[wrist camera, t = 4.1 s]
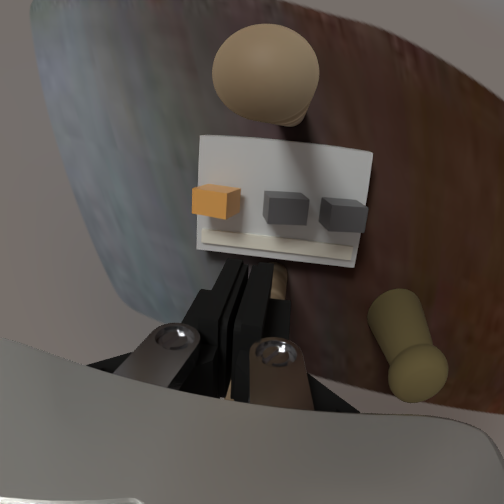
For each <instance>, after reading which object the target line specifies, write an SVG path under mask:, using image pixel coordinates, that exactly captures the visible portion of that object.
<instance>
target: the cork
mask: <svg viewBox="0 0 504 504" xmlns="http://www.w3.org/2000/svg"><path fill="white" fill-rule="evenodd" d="M367 319H368V325H369V327H370V329H371V330H372V332H373V334H374V336H375V338H376V340H377V342H378V344H379V346H380V348H381V350H382V351H383V353H384V355H385V357H386V359H387V361H388V363H389V365H390V367H389V370H388V383H389V387H390V389H391V391H392V392H393V394H394V396H396V397H397V398H398V399H400V400H402V401H404V402H407V403H417V402H421V401H425V400H427V399H429V398H431V397H432V396H434V395H435V394H436V393H438V392H439V391H440V390H441V388H442V387H443V386H444V384H445V382H446V379H447V376H448V364H447V361H446V358H445V356H444V354H443V353H442V352H441V351H440V350H439V349H438V348H437V347H436V346H433V343H432V339H431V336H430V332H429V329H428V325H427V322H426V319H425V315H424V312H423V309H422V306H421V303H420V300H419V298H418V297H417V296H416V295H415V294H414V293H413V292H411V291H409V290H407V289H394V290H389V291H387V292H385V293H383V294H381V295H380V296H379V297H378V298H377V299H376V300H375V301H374V302H373V303H372V305H371V307H370V308H369V311H368V316H367Z"/></svg>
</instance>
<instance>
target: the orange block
mask: <svg viewBox="0 0 504 504" xmlns="http://www.w3.org/2000/svg"><path fill="white" fill-rule="evenodd" d="M240 197H241V188H236V187H229V186H222V185H214V184H206V185H202V186H199V187H195V188H192V213H193V214H198V215H204V216H209V217H214V218H220V219H225V220H226V219H228V218H230V217H232V216H234V215H236V214H238V213H240Z"/></svg>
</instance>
